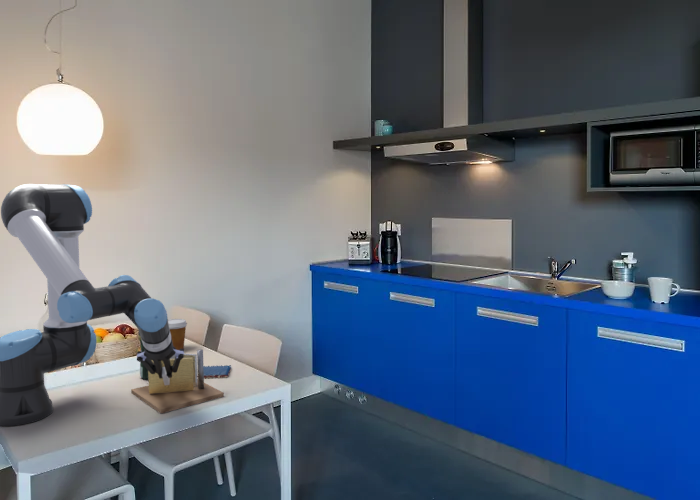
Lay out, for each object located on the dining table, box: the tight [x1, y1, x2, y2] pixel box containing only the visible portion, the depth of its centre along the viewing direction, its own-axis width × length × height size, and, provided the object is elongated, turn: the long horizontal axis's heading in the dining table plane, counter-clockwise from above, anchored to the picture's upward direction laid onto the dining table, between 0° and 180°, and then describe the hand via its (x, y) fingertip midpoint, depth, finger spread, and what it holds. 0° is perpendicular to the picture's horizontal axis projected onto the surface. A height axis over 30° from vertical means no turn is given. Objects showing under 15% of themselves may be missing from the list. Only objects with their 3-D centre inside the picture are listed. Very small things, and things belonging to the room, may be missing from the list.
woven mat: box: [197, 364, 232, 380], centre depth 193 cm, size 10×11×2 cm
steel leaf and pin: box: [170, 348, 205, 390], centre depth 177 cm, size 16×3×14 cm, turn 77°
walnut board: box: [130, 378, 225, 414], centre depth 173 cm, size 20×22×1 cm
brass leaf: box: [148, 357, 194, 394], centre depth 171 cm, size 13×1×10 cm, turn 104°
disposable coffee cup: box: [168, 318, 188, 350], centre depth 221 cm, size 10×10×12 cm
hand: (167, 381), depth 169 cm, fingers closed
